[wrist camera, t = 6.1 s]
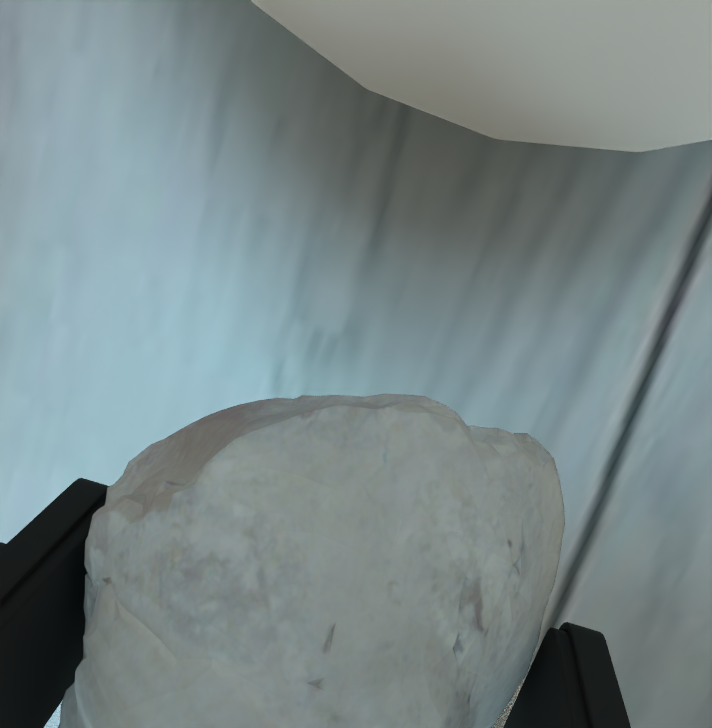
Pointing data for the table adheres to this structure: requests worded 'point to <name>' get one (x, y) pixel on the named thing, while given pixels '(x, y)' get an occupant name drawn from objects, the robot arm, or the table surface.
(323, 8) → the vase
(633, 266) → the table surface
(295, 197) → the table surface
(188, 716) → the grey stone
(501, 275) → the table surface
